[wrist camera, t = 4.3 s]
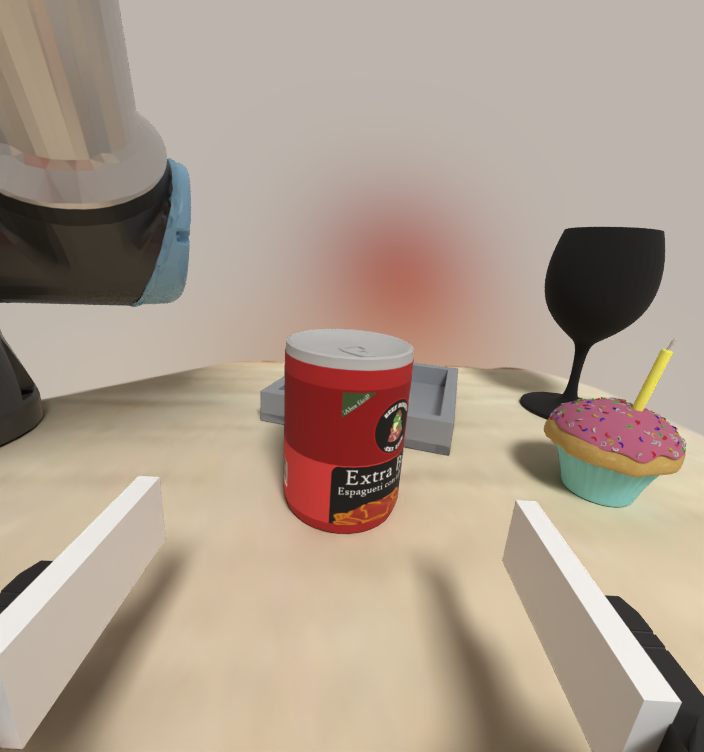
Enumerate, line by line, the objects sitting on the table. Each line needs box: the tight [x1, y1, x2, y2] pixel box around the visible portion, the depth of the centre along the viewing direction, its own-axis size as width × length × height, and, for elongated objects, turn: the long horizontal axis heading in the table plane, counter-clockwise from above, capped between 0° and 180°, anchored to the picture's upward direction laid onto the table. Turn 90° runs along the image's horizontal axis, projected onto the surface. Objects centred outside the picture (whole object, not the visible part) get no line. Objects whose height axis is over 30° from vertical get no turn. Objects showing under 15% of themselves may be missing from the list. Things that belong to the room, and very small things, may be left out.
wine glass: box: [520, 227, 665, 419], centre depth 42 cm, size 10×10×20 cm
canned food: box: [284, 329, 414, 533], centre depth 25 cm, size 8×8×11 cm
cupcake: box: [544, 339, 686, 507], centre depth 28 cm, size 9×8×12 cm
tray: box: [261, 363, 458, 455], centre depth 43 cm, size 18×18×3 cm
